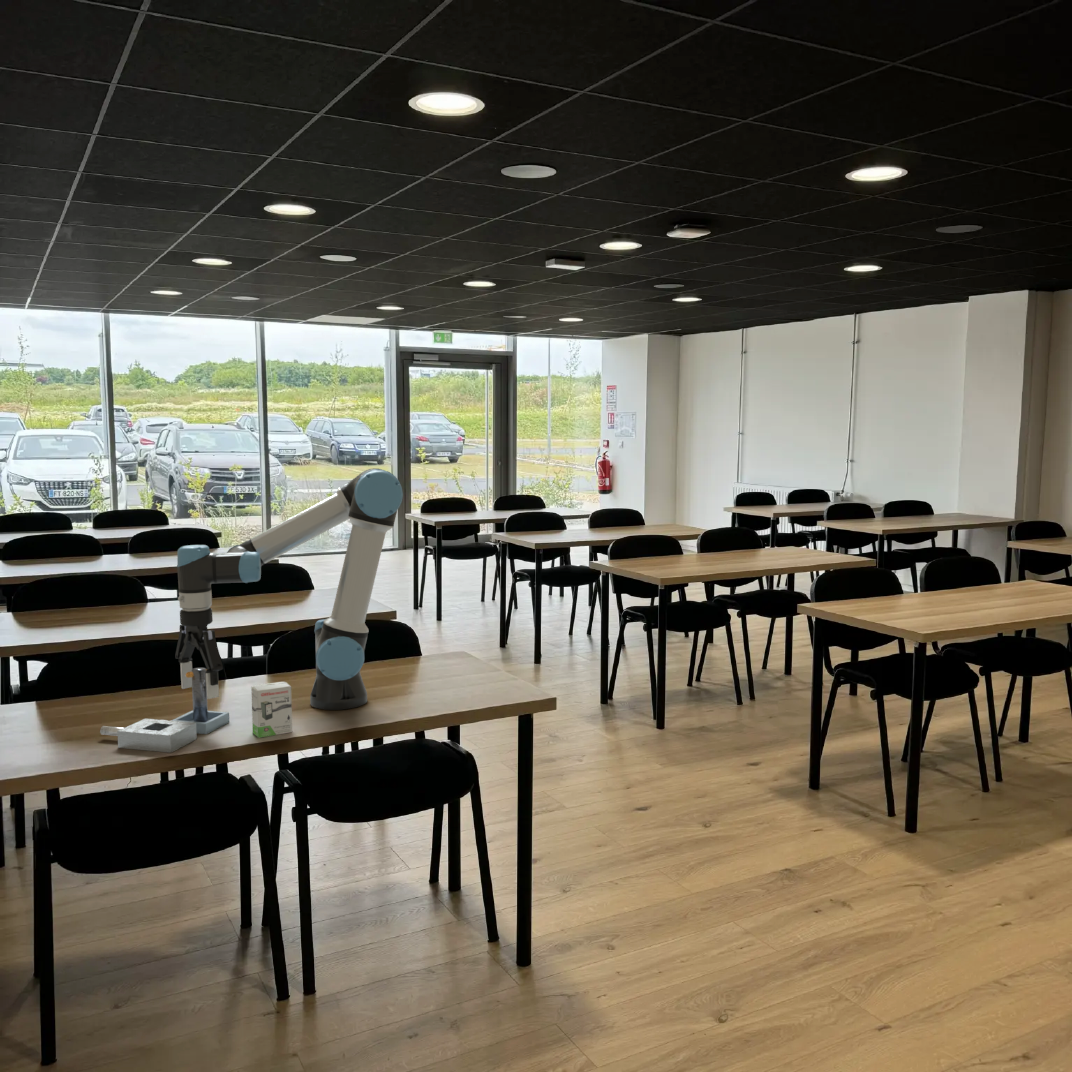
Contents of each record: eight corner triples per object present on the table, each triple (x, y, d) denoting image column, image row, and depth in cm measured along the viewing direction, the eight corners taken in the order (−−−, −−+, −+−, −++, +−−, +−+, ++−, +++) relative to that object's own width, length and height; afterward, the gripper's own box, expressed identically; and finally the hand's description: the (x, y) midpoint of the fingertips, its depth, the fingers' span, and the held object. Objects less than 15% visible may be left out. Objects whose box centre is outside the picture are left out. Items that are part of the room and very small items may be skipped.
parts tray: (229, 722, 241) (229, 712, 241) (206, 734, 231) (206, 724, 231) (194, 719, 244) (194, 709, 243) (170, 730, 234) (170, 721, 234)
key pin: (211, 720, 241) (209, 666, 239) (216, 723, 238) (214, 668, 237) (185, 725, 237) (183, 669, 235) (190, 728, 234) (187, 672, 233)
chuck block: (196, 739, 228) (196, 722, 227) (170, 752, 218) (170, 735, 218) (117, 732, 233) (116, 716, 233) (88, 744, 223) (87, 728, 223)
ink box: (258, 738, 228) (256, 690, 227) (252, 733, 232) (250, 685, 231) (293, 732, 233) (291, 685, 232) (286, 727, 237) (285, 680, 236)
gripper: (158, 604, 240) (162, 686, 243) (205, 616, 223) (209, 705, 225) (187, 600, 246) (191, 680, 248) (235, 612, 228) (238, 698, 231)
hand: (199, 692), depth 237 cm, fingers open, 13 cm apart
